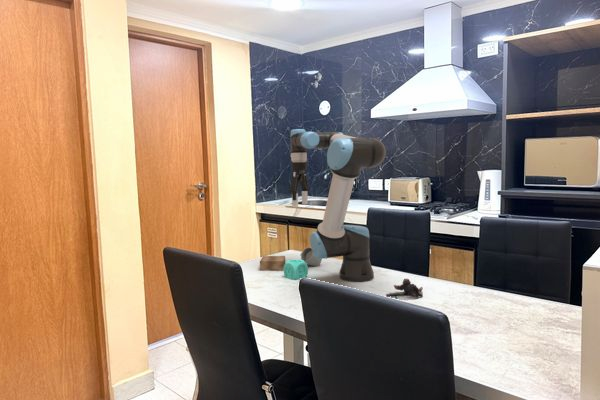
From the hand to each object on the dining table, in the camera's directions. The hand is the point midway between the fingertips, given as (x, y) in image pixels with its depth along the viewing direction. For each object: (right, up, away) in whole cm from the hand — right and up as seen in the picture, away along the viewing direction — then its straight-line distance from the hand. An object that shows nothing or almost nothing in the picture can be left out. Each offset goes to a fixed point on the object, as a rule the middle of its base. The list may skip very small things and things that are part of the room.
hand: (300, 205), depth 208 cm
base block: (-13, -32, 0) cm, 34 cm away
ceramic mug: (+5, -31, +5) cm, 31 cm away
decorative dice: (-2, -33, -17) cm, 37 cm away
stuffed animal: (+45, -36, -41) cm, 70 cm away
